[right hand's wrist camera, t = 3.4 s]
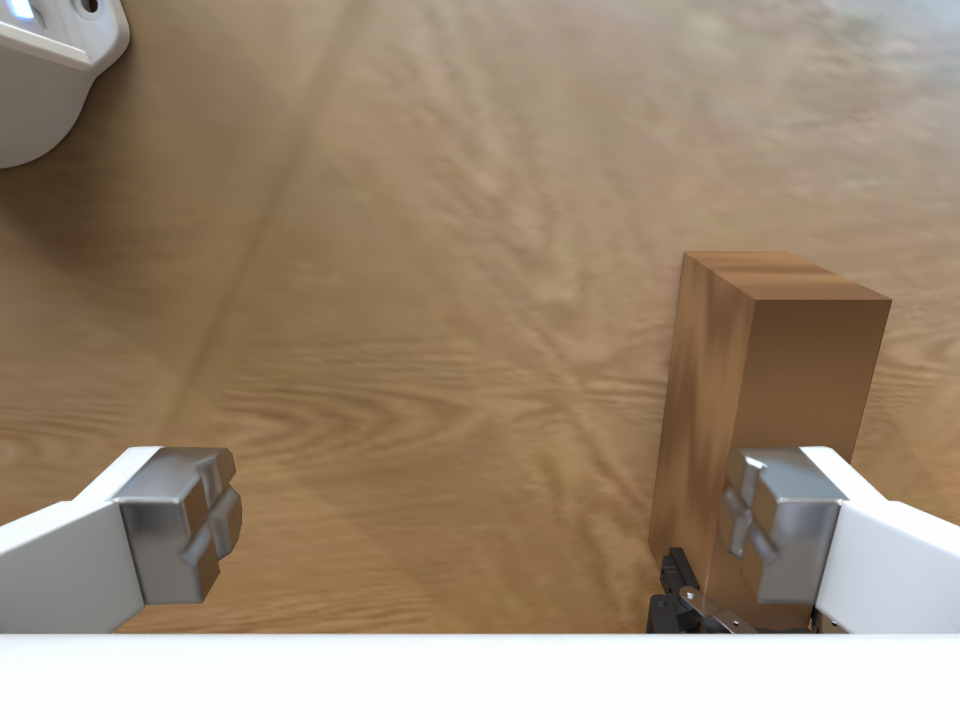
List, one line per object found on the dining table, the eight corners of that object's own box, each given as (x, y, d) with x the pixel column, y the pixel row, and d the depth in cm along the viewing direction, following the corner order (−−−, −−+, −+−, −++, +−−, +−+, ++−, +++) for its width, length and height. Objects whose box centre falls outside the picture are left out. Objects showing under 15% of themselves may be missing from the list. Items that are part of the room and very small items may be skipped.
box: (683, 251, 37) (755, 298, 28) (786, 251, 37) (893, 298, 28) (647, 541, 45) (693, 657, 36) (732, 541, 45) (800, 657, 36)
